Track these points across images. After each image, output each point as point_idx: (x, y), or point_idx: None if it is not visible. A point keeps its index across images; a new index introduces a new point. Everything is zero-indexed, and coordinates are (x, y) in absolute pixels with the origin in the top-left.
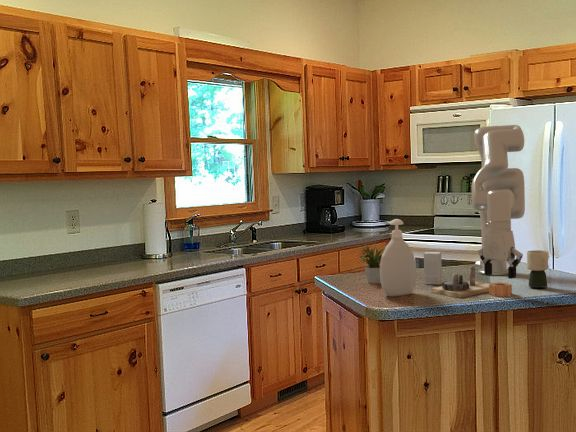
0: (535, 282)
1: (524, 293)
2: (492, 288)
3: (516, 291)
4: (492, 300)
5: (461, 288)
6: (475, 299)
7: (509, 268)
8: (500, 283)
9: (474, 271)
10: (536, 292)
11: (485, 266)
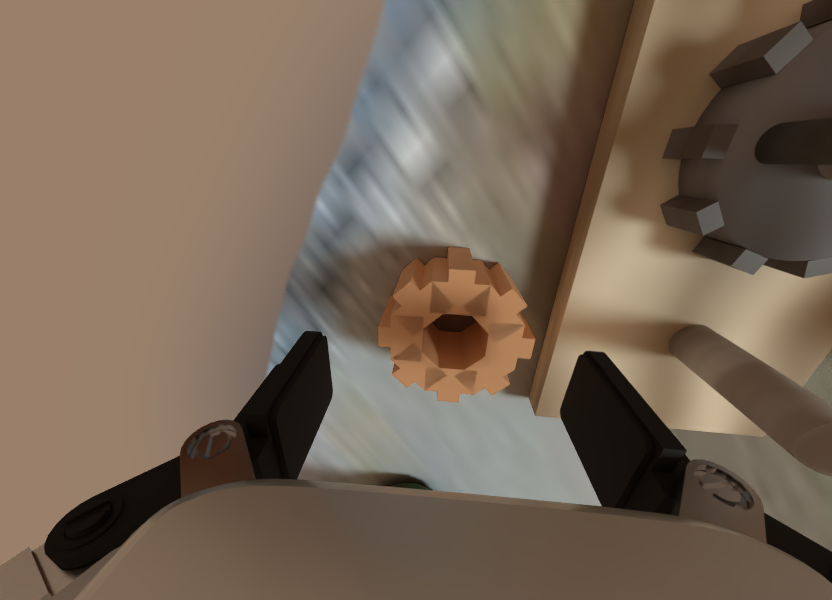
0: None
1: (377, 394)
2: (469, 263)
3: (432, 408)
4: (382, 122)
5: (720, 106)
6: (496, 48)
7: (257, 396)
8: (469, 365)
9: (768, 419)
10: (354, 434)
11: (645, 420)
